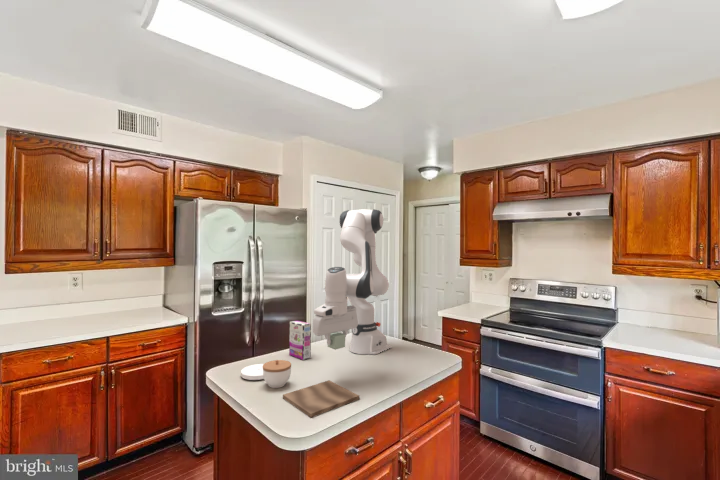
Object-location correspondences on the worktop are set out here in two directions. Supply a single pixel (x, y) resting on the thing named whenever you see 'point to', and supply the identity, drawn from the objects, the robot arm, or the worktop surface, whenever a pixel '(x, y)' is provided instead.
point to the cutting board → (320, 398)
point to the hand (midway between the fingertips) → (336, 342)
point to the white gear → (253, 372)
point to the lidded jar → (276, 373)
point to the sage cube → (337, 340)
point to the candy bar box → (300, 340)
